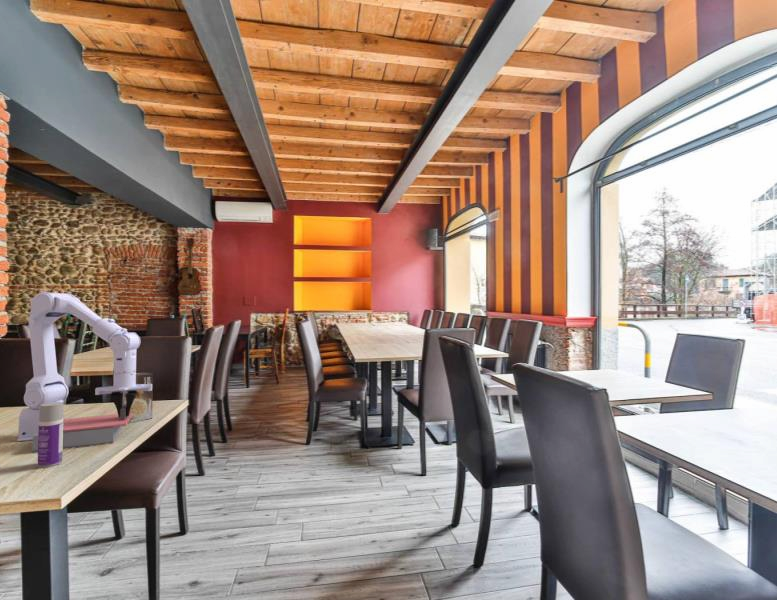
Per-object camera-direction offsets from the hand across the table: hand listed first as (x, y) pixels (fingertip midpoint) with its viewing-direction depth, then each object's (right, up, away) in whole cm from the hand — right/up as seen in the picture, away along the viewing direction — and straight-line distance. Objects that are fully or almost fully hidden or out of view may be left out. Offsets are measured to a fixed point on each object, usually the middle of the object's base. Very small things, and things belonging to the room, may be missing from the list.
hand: (124, 416), depth 120 cm
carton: (-9, -6, -5) cm, 12 cm away
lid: (-7, -1, -3) cm, 8 cm away
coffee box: (-8, -7, +17) cm, 20 cm away
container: (-3, -5, -23) cm, 24 cm away
